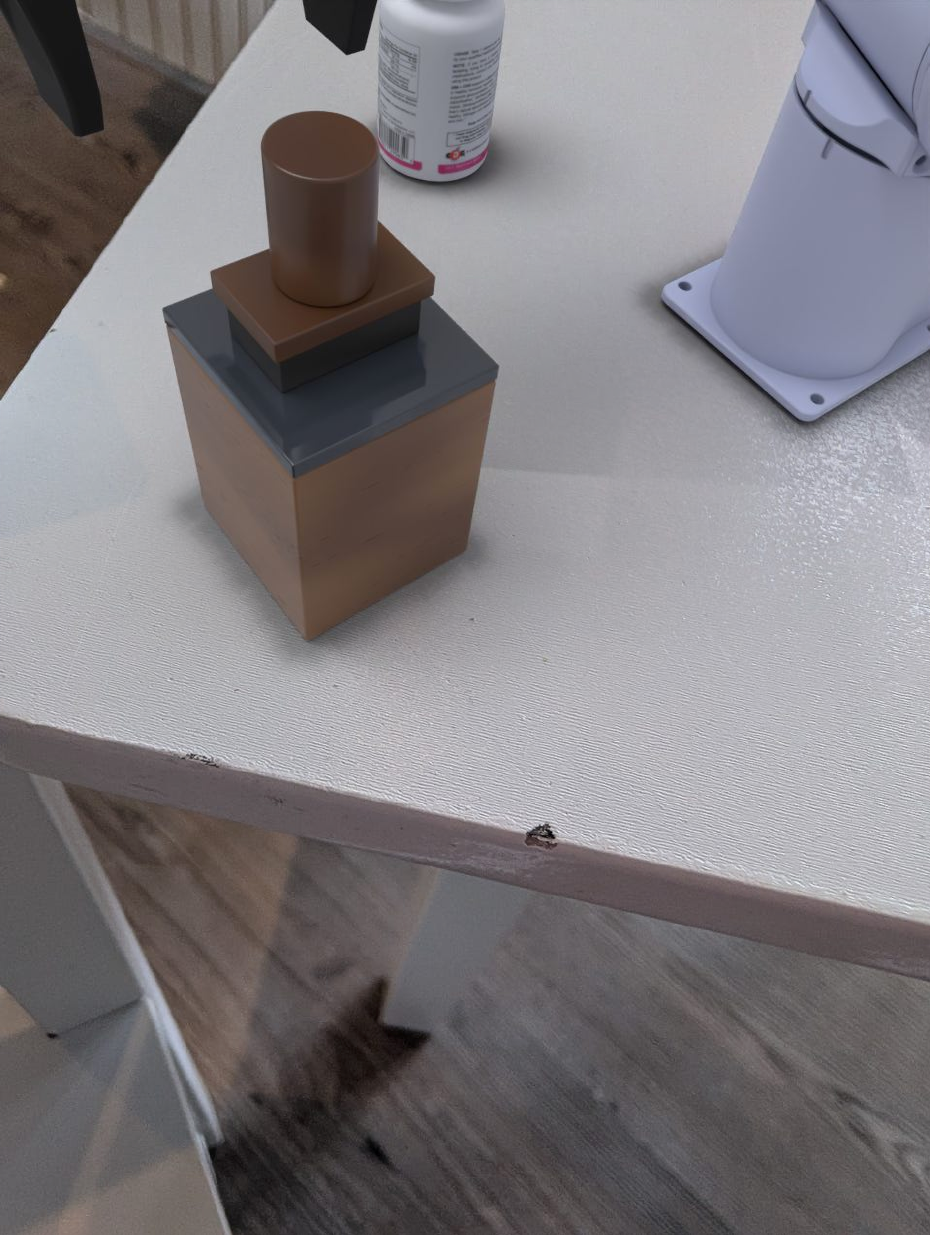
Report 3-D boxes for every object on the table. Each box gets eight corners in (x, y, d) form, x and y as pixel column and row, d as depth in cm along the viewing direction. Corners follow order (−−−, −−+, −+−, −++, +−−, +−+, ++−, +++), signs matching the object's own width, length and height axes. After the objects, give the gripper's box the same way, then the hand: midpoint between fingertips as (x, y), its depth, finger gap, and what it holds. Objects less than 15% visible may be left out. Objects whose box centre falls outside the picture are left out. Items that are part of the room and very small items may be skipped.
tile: (362, 244, 26) (363, 228, 26) (497, 379, 24) (500, 365, 24) (164, 322, 24) (160, 307, 24) (293, 480, 22) (292, 466, 22)
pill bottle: (486, 123, 43) (513, -94, 36) (487, 190, 40) (517, -29, 33) (378, 113, 42) (384, -109, 35) (373, 180, 40) (378, -44, 33)
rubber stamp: (367, 269, 25) (370, 80, 21) (431, 334, 24) (448, 148, 20) (218, 331, 23) (188, 138, 19) (279, 403, 22) (263, 216, 18)
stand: (360, 430, 33) (362, 244, 26) (467, 551, 31) (497, 379, 24) (203, 507, 30) (164, 322, 24) (306, 643, 28) (293, 480, 22)
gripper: (359, -886, 18) (356, -59, 29) (-603, -1023, 12) (-135, 66, 24) (615, -819, 15) (501, 58, 27) (-453, -955, 10) (-11, 228, 21)
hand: (212, 71), depth 25 cm, fingers open, 7 cm apart
